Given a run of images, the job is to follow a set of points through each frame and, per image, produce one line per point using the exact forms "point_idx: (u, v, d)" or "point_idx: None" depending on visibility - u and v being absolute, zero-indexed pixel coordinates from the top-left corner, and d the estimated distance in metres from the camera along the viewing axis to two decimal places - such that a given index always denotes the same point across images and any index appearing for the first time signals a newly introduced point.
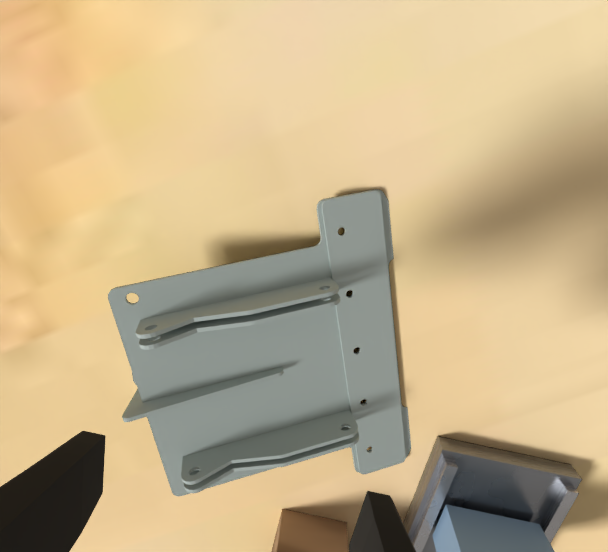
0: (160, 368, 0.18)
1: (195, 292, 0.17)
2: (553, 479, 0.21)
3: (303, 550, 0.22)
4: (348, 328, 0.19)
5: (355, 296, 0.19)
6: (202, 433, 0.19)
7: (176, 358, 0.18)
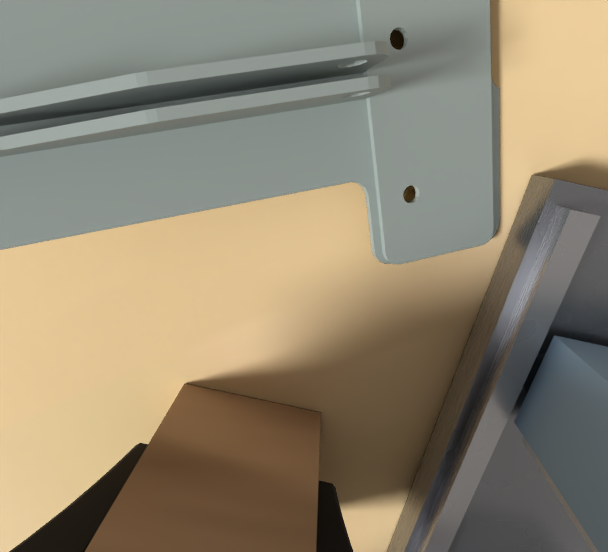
0: None
1: None
2: None
3: (211, 454, 0.09)
4: None
5: None
6: None
7: None
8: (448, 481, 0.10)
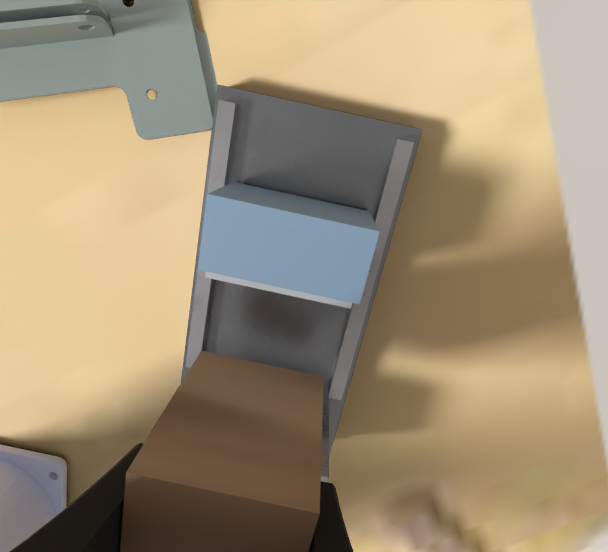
0: None
1: None
2: (381, 132, 0.15)
3: (228, 405, 0.11)
4: None
5: None
6: None
7: None
8: None
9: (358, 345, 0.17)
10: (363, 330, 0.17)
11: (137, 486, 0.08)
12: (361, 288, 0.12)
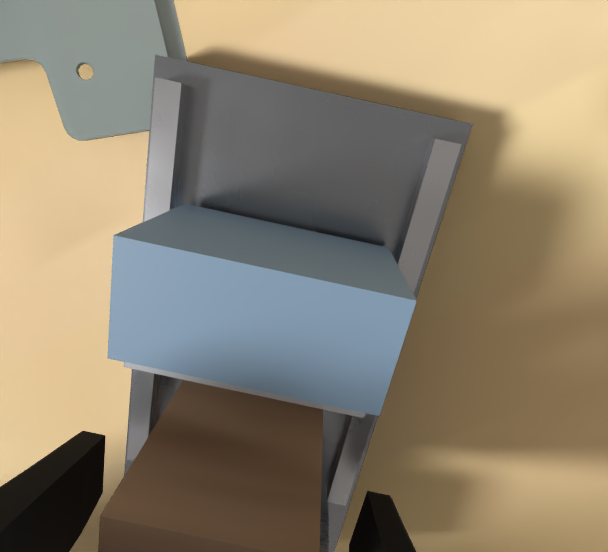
0: None
1: None
2: (409, 128, 0.09)
3: (218, 430, 0.10)
4: None
5: None
6: None
7: None
8: None
9: (370, 431, 0.12)
10: None
11: (113, 531, 0.07)
12: (382, 391, 0.07)
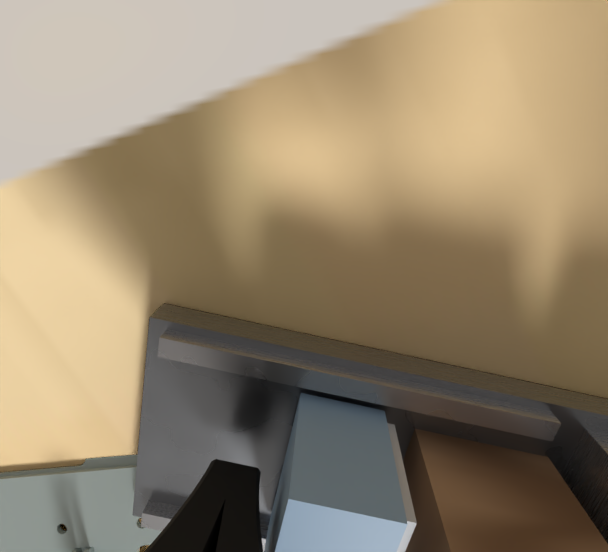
0: None
1: None
2: (158, 362, 0.12)
3: None
4: None
5: None
6: None
7: None
8: None
9: (465, 388, 0.11)
10: (439, 381, 0.11)
11: None
12: (380, 519, 0.08)
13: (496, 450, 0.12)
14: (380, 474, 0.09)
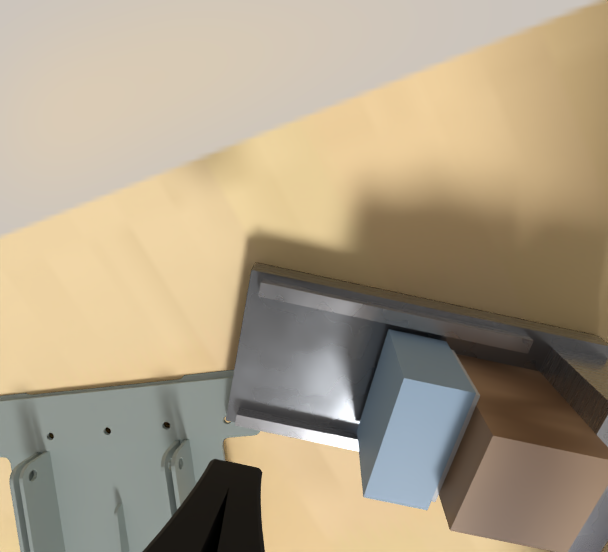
0: None
1: None
2: (255, 302, 0.17)
3: None
4: (83, 439, 0.20)
5: (52, 431, 0.20)
6: None
7: None
8: None
9: (468, 318, 0.16)
10: (450, 313, 0.16)
11: (461, 526, 0.13)
12: (459, 391, 0.13)
13: (503, 365, 0.17)
14: (453, 371, 0.14)
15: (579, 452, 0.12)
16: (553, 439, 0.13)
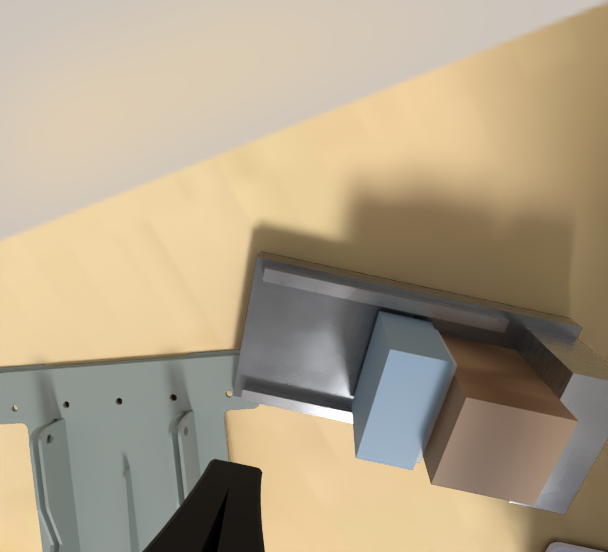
0: None
1: None
2: (259, 287, 0.18)
3: None
4: (96, 408, 0.21)
5: (68, 400, 0.22)
6: None
7: (106, 551, 0.22)
8: None
9: (450, 301, 0.18)
10: (434, 297, 0.18)
11: (441, 480, 0.15)
12: (438, 361, 0.15)
13: (483, 344, 0.19)
14: (435, 345, 0.16)
15: (542, 412, 0.14)
16: (519, 401, 0.14)
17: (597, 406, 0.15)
